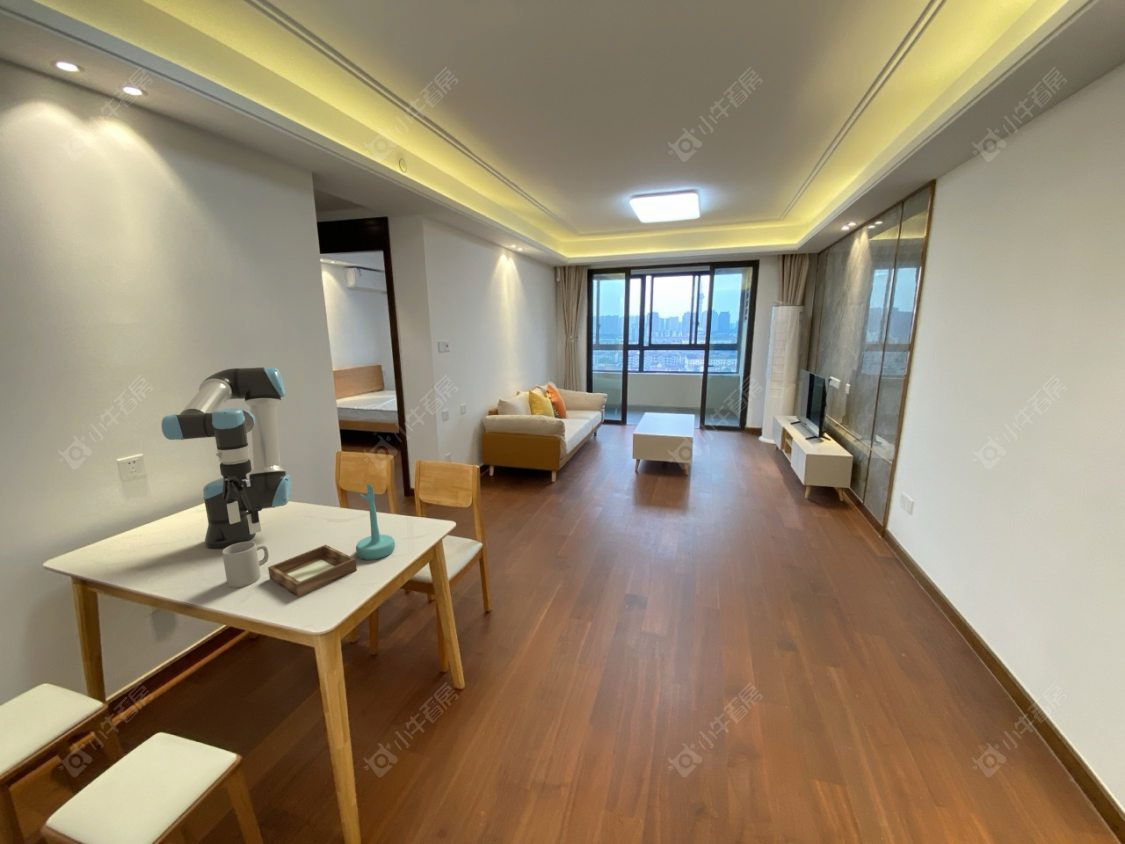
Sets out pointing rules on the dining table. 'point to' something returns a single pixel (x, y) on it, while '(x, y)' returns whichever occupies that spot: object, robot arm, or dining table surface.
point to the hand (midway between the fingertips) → (245, 527)
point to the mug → (243, 563)
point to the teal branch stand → (374, 535)
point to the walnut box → (312, 570)
